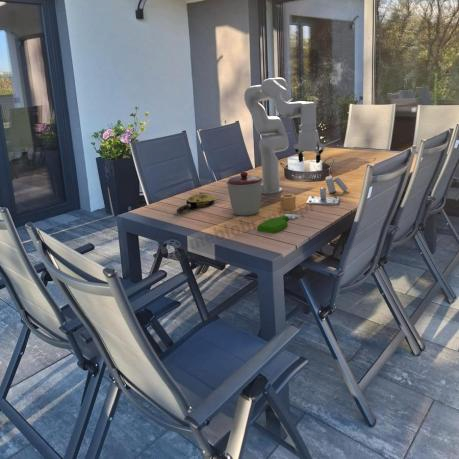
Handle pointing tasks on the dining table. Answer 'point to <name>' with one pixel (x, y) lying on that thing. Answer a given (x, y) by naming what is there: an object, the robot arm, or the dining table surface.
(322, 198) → the keeper
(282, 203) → the tan hollow octagonal block
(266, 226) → the spray bottle
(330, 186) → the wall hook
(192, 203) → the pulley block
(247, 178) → the canister
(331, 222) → the dining table surface
